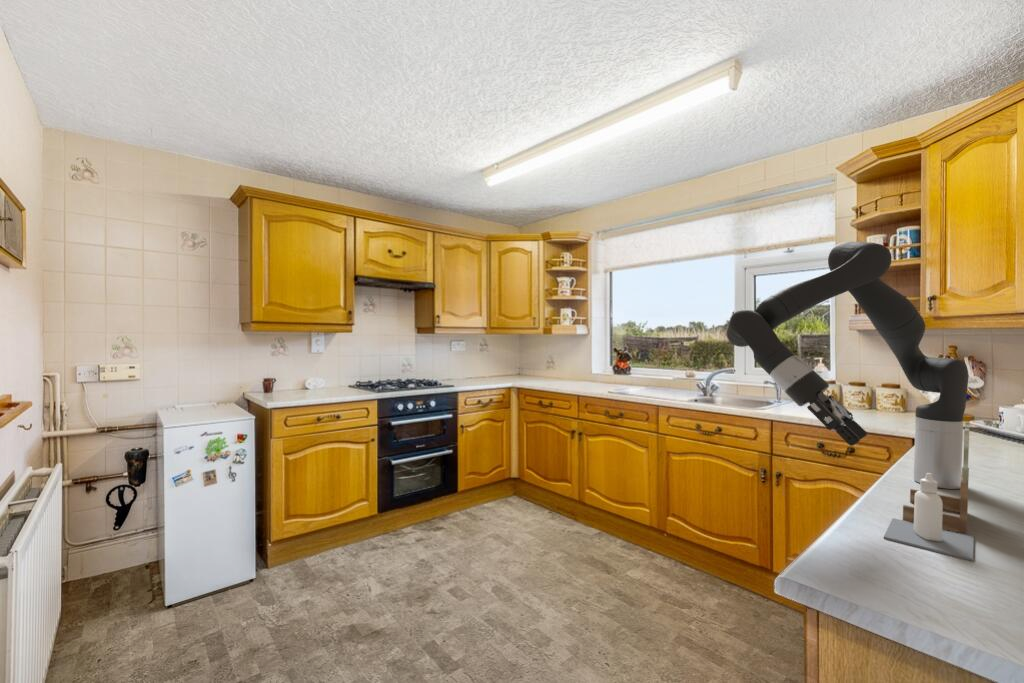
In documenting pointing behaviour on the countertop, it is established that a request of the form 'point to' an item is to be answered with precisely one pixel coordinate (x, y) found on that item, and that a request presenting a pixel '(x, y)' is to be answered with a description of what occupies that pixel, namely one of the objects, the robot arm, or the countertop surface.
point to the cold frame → (950, 498)
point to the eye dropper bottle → (928, 510)
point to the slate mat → (949, 545)
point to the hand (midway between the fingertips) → (860, 440)
